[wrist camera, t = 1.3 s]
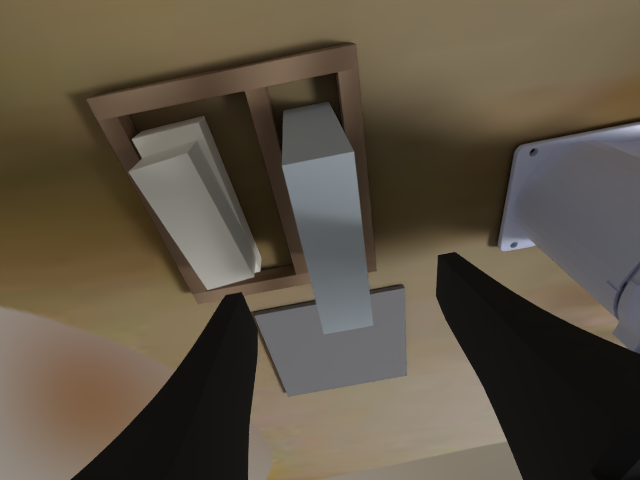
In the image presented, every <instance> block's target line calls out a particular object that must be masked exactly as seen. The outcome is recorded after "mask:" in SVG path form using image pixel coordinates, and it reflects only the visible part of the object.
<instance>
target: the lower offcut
mask: <svg viewBox="0 0 640 480" xmlns="http://www.w3.org/2000/svg"><path fill="white" fill-rule="evenodd" d="M195 140H197V141H198V143H199V145H200V147H201V149H202V151H203V153H204V155H205V157H206V159H207V161H208V163H209V165H210V167H211V169H212V171H213V173H214V175H215V177H216V178H217V180H218V182H219V184H220V186H221V188H222V190H223V192H224V194H225V196H226V198H227V200H228V202H229V204H230V206H231V208H232V210H233V212H234V214H235V216H236V218H237V220H238V222H239V224H240V226H241V228H242V230H243V232H244V234H245V236H246V238H247V240H248V242H249V244H250V246H251V247H252V249H253V251H254V253H255V255H256V264H255V273H256V272H260V269H261V256H260V253H259V251H258V248H257V246H256V243H255V241H254V238H253V236H252V234H251V231H250V229H249V226H248V224H247V221H246V219H245V216H244V214H243V211H242V209H241V206H240V204H239V201H238V199H237V196H236V194H235V191H234V189H233V186H232V184H231V181H230V179H229V176H228V174H227V171H226V169H225V166H224V164H223V161H222V159H221V156H220V154H219V151H218V149H217V146H216V144H215V141H214V139H213V136H212V134H211V131H210V129H209V126H208V124H207V122H206V119H205V117H204V116H201V117H197V118H193V119H188V120H184V121H180V122H176V123H172V124H168V125H164V126H160V127H156V128H152V129H148V130H144V131H141V132H140V133H139V134H138V135H136V136H135V137H134V138H133V139H132V141H133V143H134V144H135V146H136V148H137V150H138V152H139V154H140V155H141V157H142V158H143V157H145V156H148V155H151V154H154V153H158V152H161V151H164V150H167V149H170V148H173V147H176V146H179V145H182V144H185V143H189V142H192V141H195Z"/></svg>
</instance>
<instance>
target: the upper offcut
mask: <svg viewBox="0 0 640 480" xmlns="http://www.w3.org/2000/svg"><path fill="white" fill-rule="evenodd" d="M129 174H130V175H131V177H132V178H133V180H134V181H135V183H136V184H137V186H138V187H139V189H140V190H141V192H142V193H143V195H144V196H145V198H146V199H147V201H148V202H149V204H150V205H151V207H152V208H153V210H154V211H155V213H156V214H157V216H158V217H159V219H160V220H161V222H162V223H163V225H164V226H165V228H166V229H167V231H168V232H169V233H170V235H171V236H172V238H173V239H174V241H175V242H176V244H177V245H178V247H179V248H180V250H181V251H182V253H183V254H184V256H185V257H186V259H187V260H188V262H189V263H190V265H191V266H192V268H193V269H194V271H195V272H196V274H197V275H198V277H199V278H200V280H201V281H202V283H203V284H204V286H205V287H206V289H207V290H210V289H214V288H217V287H221V286H224V285H228V284H231V283H235V282H239V281H242V280H246V279H249V278H253V277H254V273H255V264H256V255H255V253H254V251H253V249H252V247H251V246H250V244H249V242H248V240H247V238H246V236H245V234H244V232H243V230H242V228H241V226H240V224H239V222H238V220H237V218H236V216H235V214H234V212H233V210H232V208H231V206H230V204H229V202H228V200H227V198H226V196H225V194H224V192H223V190H222V188H221V186H220V184H219V182H218V180H217V178H216V177H215V175H214V173H213V171H212V169H211V167H210V165H209V163H208V161H207V159H206V157H205V155H204V153H203V151H202V149H201V147H200V145H199V143H198V141H197V140H195V141H192V142H189V143H185V144H182V145H179V146H176V147H173V148H170V149H167V150H164V151H161V152H158V153H154V154H151V155H148V156H145V157H143V158H142V159H141V160H140V161H139V162H138V163H137V164H136V165H135V166H134V167H133V168H132V169H131V170H130V171H129Z"/></svg>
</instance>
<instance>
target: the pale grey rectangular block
mask: <svg viewBox="0 0 640 480" xmlns="http://www.w3.org/2000/svg"><path fill="white" fill-rule="evenodd" d="M282 168H283V172H284V176H285V180H286V184H287V188H288V192H289V196H290V200H291V204H292V208H293V212H294V216H295V220H296V224H297V228H298V232H299V236H300V240H301V244H302V248H303V253H304V257H305V261H306V265H307V269H308V273H309V277H310V281H311V285H312V289H313V293H314V297H315V301H316V305H317V309H318V313H319V317H320V321H321V325H322V329H323V333H324V334H330V333H335V332H341V331H346V330H352V329H357V328H363V327H368V326H373V317H372V308H371V299H370V290H369V281H368V272H367V263H366V254H365V245H364V236H363V227H362V218H361V209H360V200H359V191H358V182H357V173H356V164H355V155H354V150H353V148H352V146H351V144H350V143H349V141H348V139H347V137H346V135H345V133H344V131H343V129H342V127H341V125H340V123H339V121H338V119H337V117H336V115H335V113H334V111H333V109H332V107H331V105H330V103H329V102H324V103H319V104H314V105H309V106H304V107H299V108H294V109H289V110H284V111H283V139H282Z"/></svg>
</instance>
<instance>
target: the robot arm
mask: <svg viewBox="0 0 640 480" xmlns="http://www.w3.org/2000/svg"><path fill="white" fill-rule="evenodd" d="M532 149H534V151H533V152H532V153H531V154H530V151H531V150H532ZM513 242H514V243H513ZM512 243H513V244H512ZM531 246H537V247H538V248H540V249H541V250H542V251H543V252H544V253H545V254H546V255H547V256H548V257H549V258H551V259H552V260H553V261H554V262H555V263H556V264H557V265H558V266H559V267H560V268H562V269H563V270H564V271H565V272H566V273H567V274H568V275H569V276H570V277H571V278H573V279H574V280H575V281H576V282H577V283H578V284H579V285H580V286H581V287H582V288H584V289H585V290H586V291H587V292H588V293H589V294H590V295H591V296H592V297H593V298H594V299H596V300H597V301H598V302H599V303H600V304H601V305H602V306H603V307H604V308H605V309H607V310H608V311H609V312H610V313H611V314H612V315H613V316H614V317H615V318H616V319H618V320H619V322H618V325H617V327H616V328H615V330H614V331H613V334H614V335H615V336H616V337H617V338H618V339H619V340H620V341H621V342H622V343H623V344H624V345H625V346H626V347H627V348H628V349H627V348H624V347H622V346H619V345H617V344H614V343H612V342H610V341H607V340H605V339H603V338H601V337H598V336H596V335H594V334H592V333H589V332H587V331H585V330H583V329H581V328H578V327H576V326H574V325H572V324H570V323H568V322H566V321H564V320H562V319H560V318H558V317H556V316H555V315H553V314H551V313H549V312H547V311H545V310H543V309H541V308H540V307H538V306H536V305H534V304H533V303H531V302H529V301H528V300H526V299H524V298H522V297H521V296H519V295H517V294H516V293H514V292H513V291H511V290H509V289H508V288H506V287H505V286H503V285H502V284H500V283H499V282H497V281H496V280H494V279H493V278H491V277H490V276H488V275H487V274H485V273H484V272H483V271H481V270H480V269H478V268H477V267H475V266H474V265H473V264H471V263H470V262H468V261H467V260H466V259H464V258H463V257H461V256H460V255H459V254H457V253H456V252H453V253H447V254H442V255H438V266H437V286H436V297H437V300H438V302H439V305H440V307H441V310H442V312H443V314H444V317H445V319H446V321H447V323H448V325H449V327H450V328H451V330H452V332H453V334H454V335H455V337H456V339H457V341H458V342H459V344H460V346H461V348H462V349H463V351H464V353H465V355H466V356H467V358H468V360H469V362H470V363H471V365H472V367H473V369H474V370H475V372H476V374H477V376H478V378H479V379H480V381H481V383H482V385H483V387H484V389H485V391H486V394H487V396H488V398H489V400H490V402H491V405H492V407H493V409H494V411H495V414H496V416H497V418H498V420H499V423H500V425H501V427H502V430H503V432H504V434H505V437H506V439H507V441H508V444H509V446H510V449H511V451H512V453H513V456H514V458H515V461H516V463H517V466H518V468H519V470H520V473H521V476H522V478H523V480H640V122H635V123H630V124H625V125H620V126H615V127H609V128H604V129H599V130H594V131H589V132H584V133H578V134H573V135H568V136H563V137H558V138H553V139H547V140H542V141H537V142H532V143H527V144H523V145H520V146H519V147H518V148H517V149H516V150H515V153H514V157H513V162H512V168H511V173H510V179H509V185H508V190H507V196H506V201H505V207H504V212H503V218H502V223H501V229H500V234H499V240H498V248H499V249H500V250H501V251H510V250H515V249H520V248H526V247H531ZM257 355H258V332H257V326H256V324H255V322H254V319H253V317H252V315H251V312H250V310H249V308H248V305H247V303H246V301H245V298H244V296H243V294H242V292H239V293H234V294H228V295H225V296H224V298H223V300H222V301H221V303H220V304H219V306H218V308H217V309H216V311H215V313H214V314H213V316H212V317H211V319H210V321H209V322H208V324H207V326H206V327H205V329H204V330H203V332H202V333H201V335H200V336H199V338H198V339H197V341H196V343H195V344H194V346H193V347H192V349H191V350H190V351H189V353H188V354H187V356H186V357H185V358H184V360H183V361H182V363H181V364H180V365H179V367H178V368H177V370H176V371H175V372H174V373H173V375H172V376H171V377H170V379H169V380H168V381H167V382H166V384H165V385H164V386H163V388H162V389H161V390H160V391H159V392H158V394H157V395H156V396H155V397H154V398H153V399H152V400H151V402H150V403H149V404H148V405H147V406H146V407H145V408H144V409H143V410H142V411H141V412H140V413H139V415H138V416H137V417H136V418H135V419H134V420H133V421H132V422H131V423H130V424H129V425H128V426H127V427H126V428H125V429H124V431H122V432H121V434H120V435H119V436H118V437H116V439H114V440H113V441H112V442H111V443H110V444H109V445H108V446H107V447H106V448H105V449H104V450H103V451H102V452H101V453H100V454H99V455H98V456H97V457H95V458H94V459H93V460H92V461H91V462H90V463H89V464H88V465H87V466H86V467H85V468H83V469H82V470H81V471H80V472H79V473H78V474H77V475H75V476H74V477H73V478H72V479H71V480H248V447H249V424H250V413H251V405H252V397H253V389H254V381H255V373H256V364H257Z"/></svg>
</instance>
